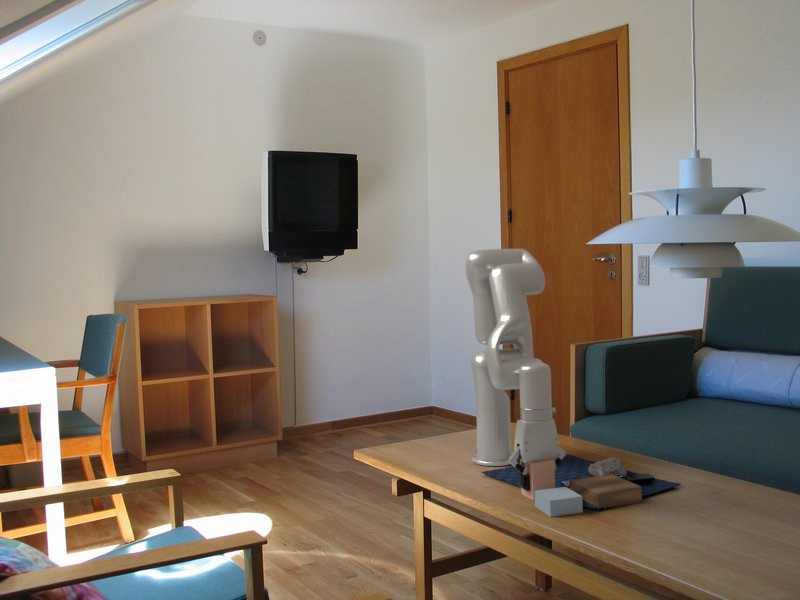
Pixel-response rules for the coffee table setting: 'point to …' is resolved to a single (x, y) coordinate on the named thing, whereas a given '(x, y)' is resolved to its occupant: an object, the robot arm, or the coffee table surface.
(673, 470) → the coffee table surface
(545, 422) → the robot arm
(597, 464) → the rock
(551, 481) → the terracotta block
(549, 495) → the slate block
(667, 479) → the coffee table surface
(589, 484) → the walnut block
